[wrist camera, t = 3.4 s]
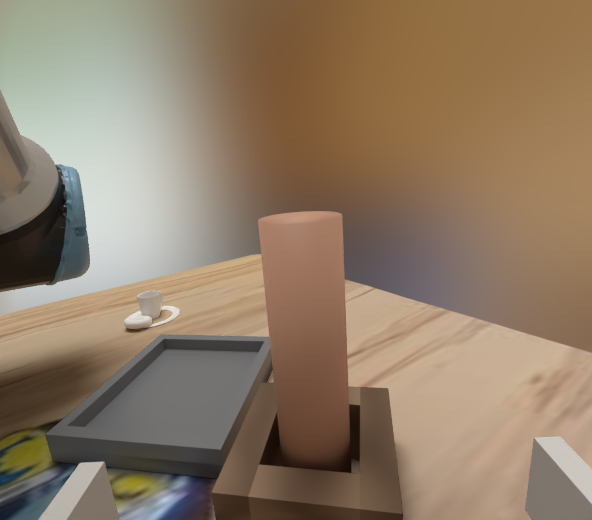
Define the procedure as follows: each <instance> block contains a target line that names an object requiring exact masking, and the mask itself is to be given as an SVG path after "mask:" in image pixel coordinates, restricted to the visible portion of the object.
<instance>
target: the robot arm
mask: <svg viewBox="0 0 592 520" xmlns="http://www.w3.org/2000/svg"><path fill="white" fill-rule="evenodd" d="M89 264H90V256H89V244H88V237H87V231H86V221H85V211H84V203H83V196H82V190H81V184H80V178H79V174H78V172H77V170H76V169H74V168H72V167H65V166H63V165H55V164H54V162H53V160H52V159H51V157H50V155H49V154H48V153H47V152H46V151H45V150H44V149H43V148H42V147H41V146H39V145H38V144H36V143H35V142H33V141H32V140H30V139H28V138H26V137H24V136H21V135H20V133H19V131H18V129H17V127H16V125H15V122H14V120H13V118H12V115H11V113H10V111H9V109H8V106H7V104H6V102H5V100H4V97H3V95H2V93H1V91H0V292H3V291H9V290H14V289H20V288H26V287H31V286H37V285H44V284H46V285H54V284H56V283H57V282H59V281H64V280H68V279H72V278H77V277H79V276H82V275H83V274H84V273H86V271H87V270H88V268H89ZM525 510H526V511H527V513H528V514H529V516H530V517H531V519H532V520H592V469H591V468H590V467H589V466H588V465H587V464H586V463H585V462H584V461H583V460H582V459H581V458H580V457H579V456H578V455H577V454H576V453H575V451H574V450H573V449H572V448H571V447H570V446H569V445H568V444H567V443H566V442H565V441H564V440H563V439H562V438H561V437H560V436H557V437H539V438H534V442H533V450H532V458H531V466H530V474H529V482H528V490H527V498H526V506H525ZM39 520H119V516H118V512H117V508H116V504H115V500H114V496H113V493H112V489H111V485H110V481H109V477H108V473H107V469H106V466H105V462H85V463H80V464H79V465H78V466H77V468H76V469H75V470H74V472H73V473H72V475H71V476H70V477H69V479H68V480H67V481H66V483H65V484H64V485H63V487H62V488H61V490H60V491H59V492H58V494H57V495H56V496H55V498H54V499H53V500H52V502H51V503H50V505H49V506H48V507H47V509H46V510H45V511H44V513H43V514H42V515H41V517H40V518H39Z"/></svg>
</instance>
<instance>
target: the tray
mask: <svg viewBox="0 0 592 520" xmlns="http://www.w3.org/2000/svg"><path fill="white" fill-rule="evenodd" d="M272 369H273V367H272V356H271V346H270V337H250V336H204V335H160V336H159V337H157V338H156V339H155V340H154V341H153V342H152V343H150V344H149V345H148V346H147V347H146V348H145V349H143V350H142V351H141V352H140V353H139V354H138V355H137V356H135V357H134V358H133V359H132V360H131V361H130V362H128V363H127V364H126V365H125V366H124V367H123V368H121V369H120V370H119V371H118V372H117V373H116V374H115V375H113V376H112V377H111V378H110V379H109V380H108V381H106V382H105V383H104V384H103V385H102V386H101V387H99V388H98V389H97V390H96V391H95V392H94V393H93V394H91V395H90V396H89V397H88V398H87V399H86V400H84V401H83V402H82V403H81V404H80V405H79V406H77V407H76V408H75V409H74V410H73V411H72V412H71V413H69V414H68V415H67V416H66V417H65V418H64V419H62V420H61V421H60V422H59V423H58V424H57V425H55V426H54V427H53V428H52V429H51V430H50V431H49V432H47V433H46V434H45V436H46V439H47V442H48V445H49V449H50V452H51V455H52V458H53V462H63V463H72V464H80V463H85V462H105V466H106V467H111V468H120V469H130V470H140V471H149V472H159V473H169V474H178V475H188V476H198V477H207V478H217V479H218V477H219V475H220V473H221V470H222V468H223V466H224V464H225V462H226V459H227V457H228V455H229V453H230V450H231V448H232V446H233V444H234V442H235V439H236V437H237V435H238V433H239V431H240V428H241V426H242V424H243V422H244V420H245V417H246V415H247V413H248V411H249V409H250V406H251V404H252V402H253V400H254V397H255V395H256V393H257V391H258V389H259V386H260V384H261V382H262V383H267V381H268V378H269V376H270V374H271V371H272Z"/></svg>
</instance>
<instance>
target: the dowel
mask: <svg viewBox="0 0 592 520" xmlns="http://www.w3.org/2000/svg"><path fill="white" fill-rule="evenodd" d="M258 224H259V235H260V244H261V255H262V265H263V275H264V286H265V296H266V306H267V316H268V326H269V336H270V346H271V356H272V367H273V377H274V387H275V397H276V407H277V417H278V427H279V437H280V448H281V458H282V467H291V468H302V469H312V470H323V471H334V472H345V473H351V448H350V420H349V392H348V365H347V337H346V310H345V282H344V254H343V227H342V214H340V213H336V212H327V211H308V212H293V213H284V214H277V215H271V216H268V217H263V218H261V219H259V220H258Z"/></svg>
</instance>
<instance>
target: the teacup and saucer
mask: <svg viewBox="0 0 592 520" xmlns="http://www.w3.org/2000/svg"><path fill="white" fill-rule="evenodd" d="M137 299H138V303H139V306H140V310H141V311H138V312H136V313H134V314H132V315H130V316H129V317H127V318H126V319H125V321H124V325H125V327H126V328H129V329H139V328H149V327H154V326H158V325H162V324H165V323H167V322H169V321H171V320H173V319H175V318H176V317H177V316H178V315H179V314H180V310H179V309H178V308H176V307H173V306H162V302H163V294H162V293H161V292H159V291H147V292H143V293H141V294H139V295H137ZM161 310H169V311H171V312H172V315H171V317H169V318H168V319H166V320H164V321H162V322H159V323H155V324H151V323H152V319H156V318H158V317H159V316H160V313H161ZM140 314H142V315H143V316H139V315H140Z"/></svg>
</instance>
